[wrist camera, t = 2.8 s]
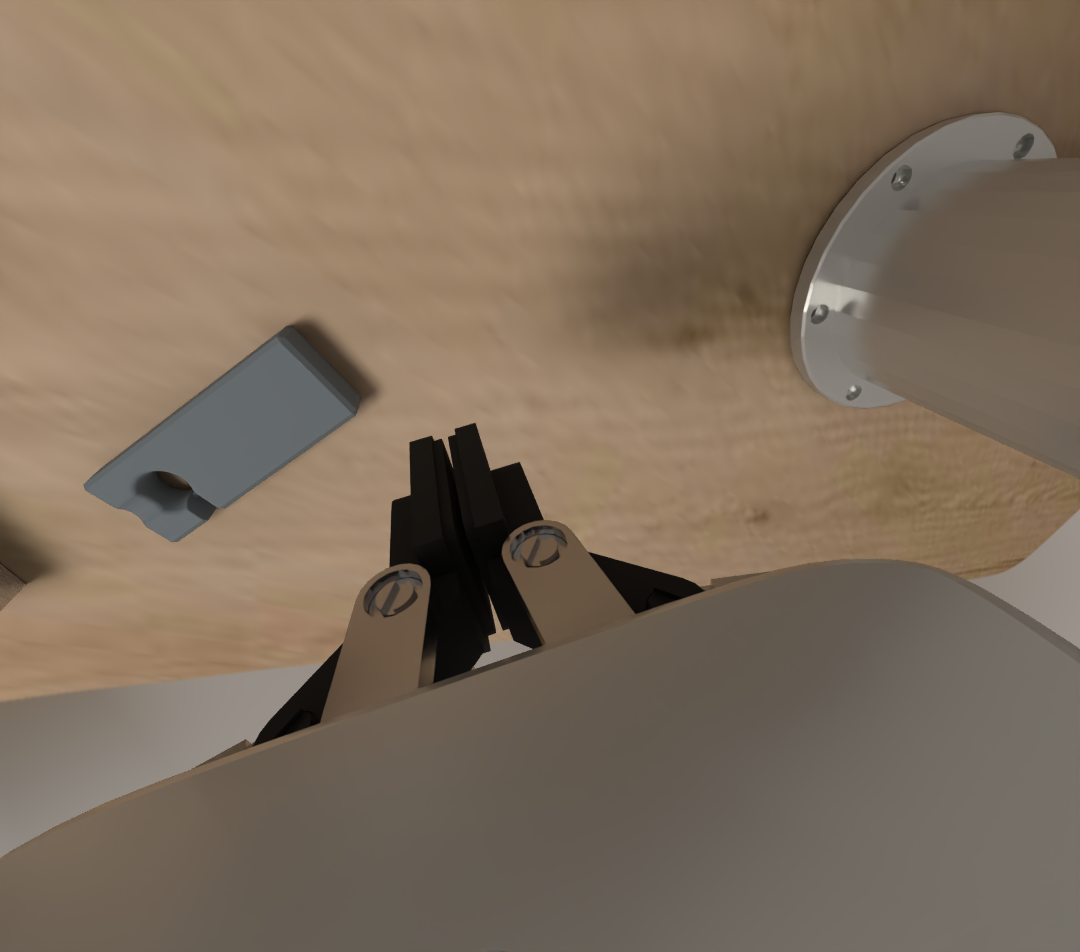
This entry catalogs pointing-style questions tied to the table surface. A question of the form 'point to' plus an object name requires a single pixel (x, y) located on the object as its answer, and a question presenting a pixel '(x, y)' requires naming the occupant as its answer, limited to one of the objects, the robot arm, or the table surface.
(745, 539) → the table surface
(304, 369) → the bracket
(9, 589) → the metal hinge
